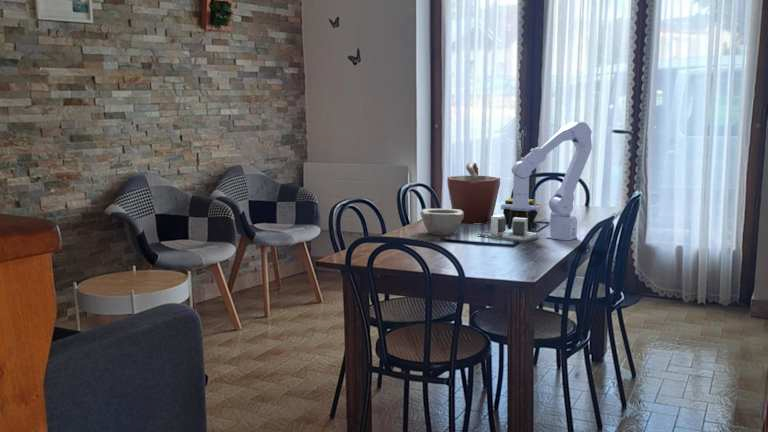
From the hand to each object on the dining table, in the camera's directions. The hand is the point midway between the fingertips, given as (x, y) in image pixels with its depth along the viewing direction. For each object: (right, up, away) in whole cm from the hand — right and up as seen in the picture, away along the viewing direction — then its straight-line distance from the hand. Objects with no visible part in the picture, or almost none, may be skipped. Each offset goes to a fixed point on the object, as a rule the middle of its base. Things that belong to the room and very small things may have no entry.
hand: (519, 229), depth 268 cm
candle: (+6, +2, +35) cm, 36 cm away
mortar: (-28, -2, +12) cm, 31 cm away
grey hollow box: (-4, -3, +4) cm, 6 cm away
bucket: (-14, +3, +41) cm, 43 cm away
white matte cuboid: (0, -3, 0) cm, 3 cm away
